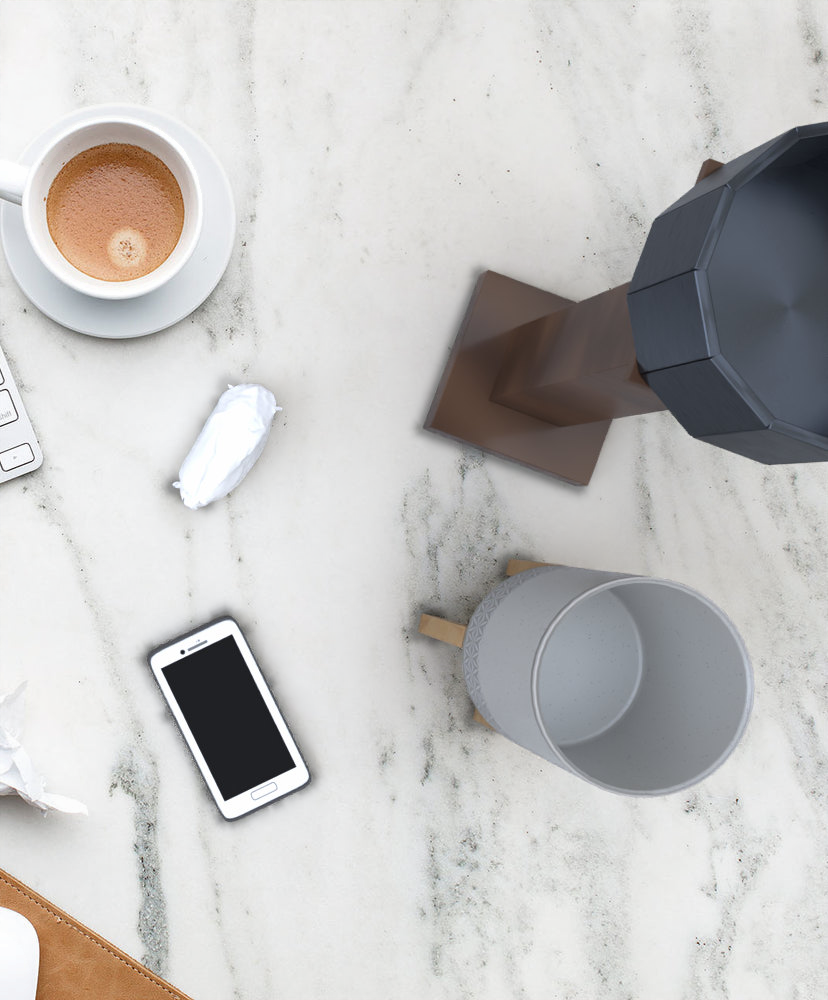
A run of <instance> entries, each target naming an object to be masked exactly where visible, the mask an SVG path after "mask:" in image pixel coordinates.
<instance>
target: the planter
mask: <svg viewBox="0 0 828 1000" xmlns="http://www.w3.org/2000/svg"><path fill="white" fill-rule="evenodd" d="M505 575H507V576H509V577H507V578H506V579H504V580H502V581H501V582H500V583H498V584H497V585H496V586H494V588H492V589H490V591H489V592H488V593H487V594H486V595H485V596H484V598H483V599H482V600H481V601H480V603H479V604H478V605H477V607H476V608H475V610H474V612H473V614H472V615H471V617H470V619H469V622H468V624H466V623H462V622H458V621H454V620H450V619H446V618H443V617H440V616H436V615H432V614H428V613H424V612H423V613H421V615H420V620H419V624H418V628H417V632H418V634H419V633H420V634H422V635H424V636H427V637H430V638H433V639H436V640H438V641H441V642H443V643H446V644H448V645H451V646H455V647H456V648H459V649H461V666H462V667H461V668H462V677H463V679H464V684H465V689H466V690H467V693H468V695H469V698H470V700H471V701H472V704H473V705H474V712H473V716H472V720H473V721H475V722H476V723H479V724H481V725H482V726H484V727H485V728H488V729H489V730H492V731H493V732H495V733H497V734H499V735H500V736H503V737H504V738H506V739H507V740H509V741H511V743H514V744H515V745H517V746H520V747H521V748H523V749H525V750H527V751H529V752H530V753H533V755H534V754H535V755H536V756H538V757H540V758H541V759H544V760H545V761H547V762H549V763H551V764H552V765H554V766H556V767H558V768H560V769H562V770H564V771H566V772H567V773H569V774H571V775H573V776H574V777H577V779H580V780H582V781H584V782H586V783H587V784H589V785H592V786H594V787H596V788H597V789H600V790H602V791H605V792H608V793H611V794H614V795H618V796H621V797H628V798H634V799H637V798H640V799H646V798H647V799H654V798H660V797H665V796H671V795H674V794H679V793H682V792H684V791H687V790H689V789H691V788H693V787H695V786H697V785H699V784H701V783H702V782H704V781H706V780H707V779H708V778H710V777H711V776H713V775H714V774H715V773H716V772H718V770H719V769H721V768H722V767H723V766H724V765H725V764H726V763H727V762H728V760H729V759H730V758H731V756H732V755H733V754H734V753H735V751H736V750H737V748H738V747H739V745H740V743H741V741H742V740H743V738H744V736H745V734H746V731H747V729H748V727H749V724H750V721H751V718H752V713H753V708H754V703H755V692H756V691H755V689H756V687H755V674H754V667H753V663H752V658H751V654H750V652H749V649H748V647H747V644H746V642H745V639H744V638H743V636H742V634H741V633H740V630H739V629H738V627H737V625H736V624H735V623H734V622H733V620H732V618H730V616H729V615H728V614H727V613H726V611H724V609H723V608H721V607H720V606H719V605H718V604H717V603H716V602H715V601H714V600H713V599H711V598H709V597H708V596H707V595H705V594H703V593H702V592H701V591H699V590H697V589H695V588H693V587H691V586H688V585H687V584H685V583H682V582H679V581H676V580H672V579H669V578H663V577H656V576H650V575H641V574H633V573H625V572H617V571H608V570H601V569H592V568H586V567H585V568H584V567H577V566H576V567H575V566H569V565H565V564H556V563H548V562H541V561H532V560H524V559H516V558H508V562H507V567H506V571H505Z"/></svg>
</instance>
